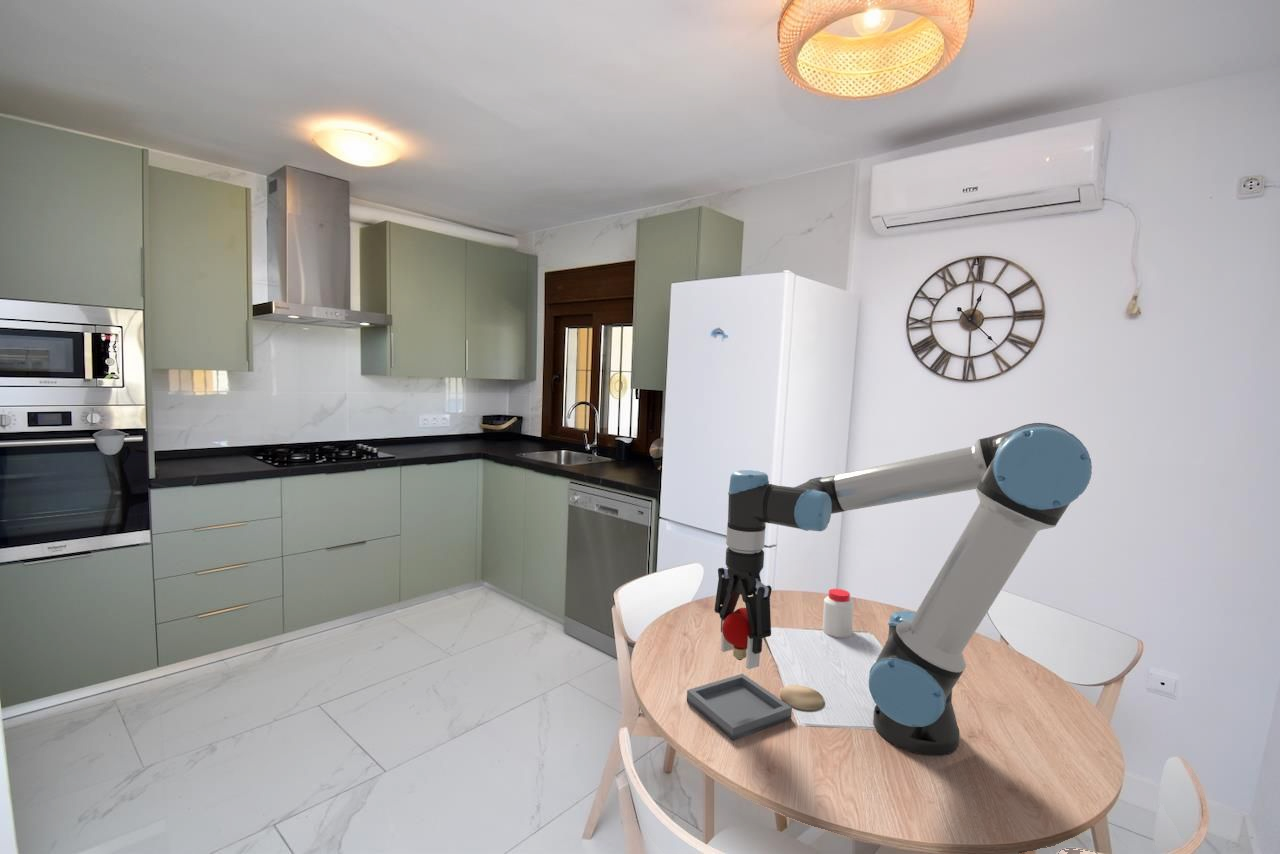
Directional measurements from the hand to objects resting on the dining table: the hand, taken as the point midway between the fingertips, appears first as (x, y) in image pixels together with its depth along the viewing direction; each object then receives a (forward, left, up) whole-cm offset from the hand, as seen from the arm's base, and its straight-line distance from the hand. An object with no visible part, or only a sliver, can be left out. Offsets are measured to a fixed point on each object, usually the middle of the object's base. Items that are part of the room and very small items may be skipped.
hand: (739, 658), depth 118 cm
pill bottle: (+17, -49, -11) cm, 53 cm away
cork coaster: (-3, -15, -11) cm, 19 cm away
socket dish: (0, 0, -11) cm, 11 cm away
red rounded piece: (0, 0, -1) cm, 1 cm away
